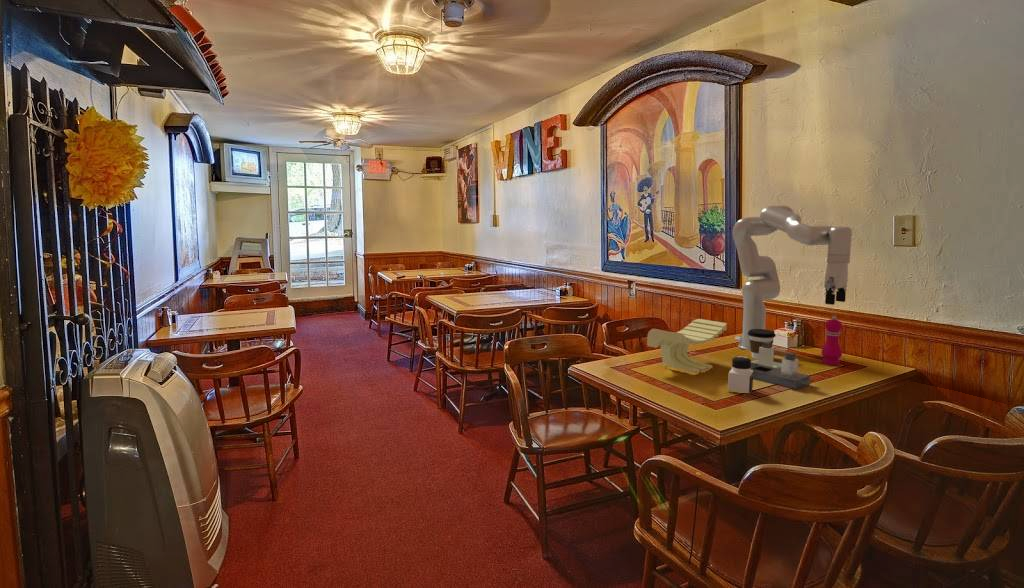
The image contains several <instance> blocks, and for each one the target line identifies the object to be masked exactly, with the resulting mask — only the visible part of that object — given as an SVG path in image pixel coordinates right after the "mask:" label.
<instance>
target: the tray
mask: <svg viewBox="0 0 1024 588" xmlns="http://www.w3.org/2000/svg"><path fill="white" fill-rule="evenodd" d="M751 363H756V364H758V359H755V360H751ZM781 366H782V362H776V361H773V367H774V368H778V369H781Z"/></svg>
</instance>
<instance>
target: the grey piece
mask: <svg viewBox="0 0 1024 588" xmlns="http://www.w3.org/2000/svg"><path fill="white" fill-rule="evenodd" d="M784 356H785V357H784V358H782V359H781V363H782V366H781V369H778V368H774V367H769V366H765V365H760V364H756V363H751V370H753V380H757V381H762V382H765V383H770V384H774V385H778V386H783V387H785V388H790V389H792V390H791V391H795V390H796V391H798V390H800V389H803V388H805V387H808V386H810V381H811V375H810V374H809V375H808V374H804V373H800V372H799V361H800V360H799V359H798V358H796V353H794V352H787V353H785V355H784Z"/></svg>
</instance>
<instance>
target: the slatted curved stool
mask: <svg viewBox="0 0 1024 588" xmlns="http://www.w3.org/2000/svg"><path fill="white" fill-rule="evenodd" d="M727 329H728V323H727V322H722V321H715V320H714V321H713V320H710V319H702V318H696V319H694V320H692V321H691V322H690V323H689V324H687V325H686V326H685V327H684V328H682V329H680V330H679V331H676V332H672V331H668V330H665V329H658V328H651V329H650V330H648V333H647V336H646V337H647V342H646V343H647V344H646V345H647V346H646V347H650V348H655V349H657V348H658V347H660V351H661V352H660V353H661V361H662V364H663V366H664V365H666V366H670V367H674V368H678V369H682V370H685V371H688V372H692V373H697V372H700V371H705V370H707V369H710V370H712V369H713V365H712V364H706V363H704V362H700V361H698V360H695V359H693V358H691V357H690V356H689V355H688V348H689V346H690V345H692V346H697V345H701V344H704V343H708V342H712V341H715V338H718V337H719V335H721V334H723V333H724V332H725V331H727ZM723 331H724V332H723ZM711 368H712V369H711Z"/></svg>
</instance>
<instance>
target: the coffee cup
mask: <svg viewBox="0 0 1024 588" xmlns="http://www.w3.org/2000/svg"><path fill="white" fill-rule="evenodd" d="M748 335H749V337H750V338H749V341H750V349H751V350H750V352H751V358H752V359H755V360H758V359H759V347H762V343H763V342H770V343H771V347H773V343H774V338H775V337H776V336H777V335H776V333H775V331H774V330H771V329H766V328H765V329H751V330H749V332H748Z"/></svg>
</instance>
